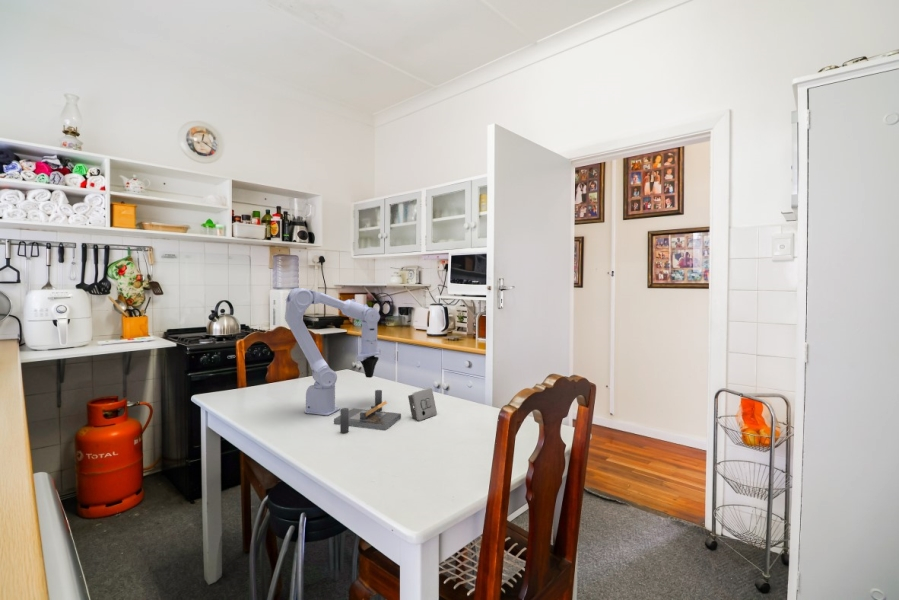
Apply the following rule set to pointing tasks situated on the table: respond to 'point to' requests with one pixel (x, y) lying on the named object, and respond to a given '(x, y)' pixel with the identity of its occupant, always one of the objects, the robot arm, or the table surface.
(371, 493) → the table surface
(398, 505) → the table surface
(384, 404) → the breaker paddle
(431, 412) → the electrical switch
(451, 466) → the table surface
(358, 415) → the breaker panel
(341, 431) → the post
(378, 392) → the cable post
